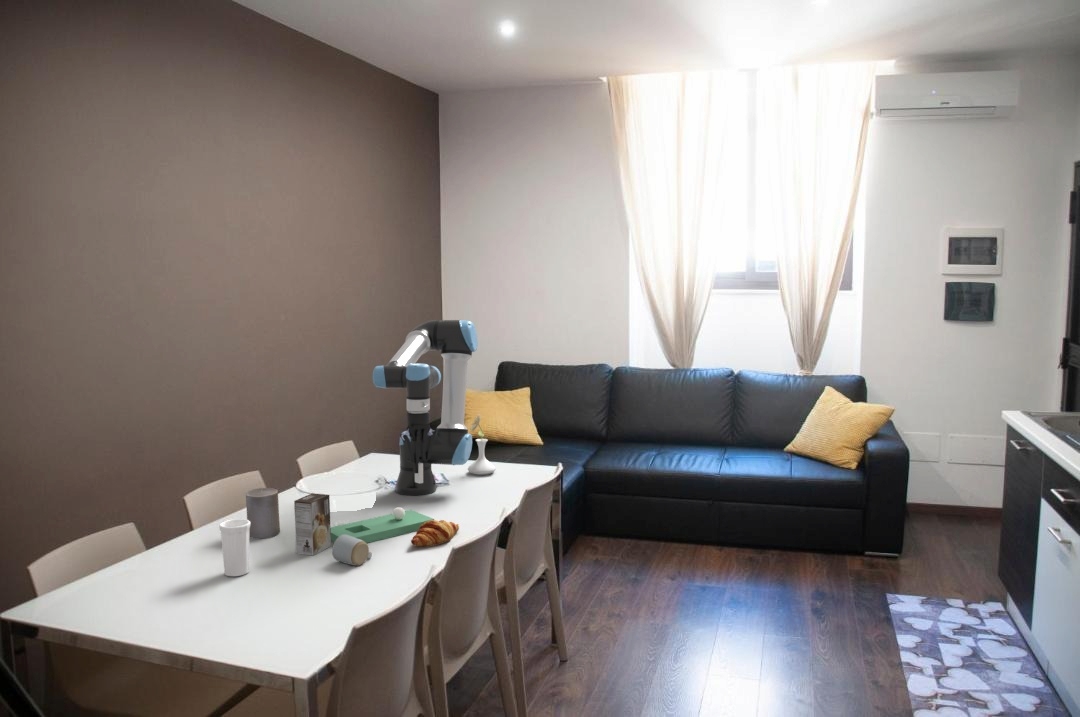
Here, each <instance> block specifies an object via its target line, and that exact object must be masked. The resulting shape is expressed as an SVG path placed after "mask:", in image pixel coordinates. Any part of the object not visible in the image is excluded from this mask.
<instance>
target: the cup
mask: <svg viewBox="0 0 1080 717" xmlns="http://www.w3.org/2000/svg"><path fill="white" fill-rule="evenodd" d="M250 523H251V522H250V521H249V520H247V518H246V519H245V518H233V519H228V520H225V521H224V520H223V522H220V524H219V526H218V527H219V531H220V537H221V547H222V559H223V569H224V575H225V576H228V577H240V576H244V575H246V574H248V573H249V572H250V537H249V528H250Z"/></svg>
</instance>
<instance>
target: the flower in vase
mask: <svg viewBox="0 0 1080 717" xmlns="http://www.w3.org/2000/svg"><path fill="white" fill-rule="evenodd" d="M481 419H482V414H480V413H478V414H477V415H476V417H474V420H473V422H472V423H471V427H470V428H469V430H470V433H471V432H474V431H475V430H476V429H477V428H478V427H479V428H480V430H479V431H478V432H477V435H478V436H479V437H480V438H477V439H475V440H474V441H475V442H476V444H477V446H478V457H477V459H475V461H473V462H472V463H471V464H470V465H469V466H468V468H467V471H468V472H469V473H471V474H473V475H482V476H483V475H490V474H492V473H494V472H495V471H496V467H495V465H494V464H493V463H492V462H490V461H489V460H488V459H487V458H486V456H485V448H486V445H487V442H488V441H489V439H487V438H484V436H485V434H484V433H483V430H482V429H483V428H482V427H481V425H480V422H481Z"/></svg>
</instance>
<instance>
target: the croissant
mask: <svg viewBox="0 0 1080 717" xmlns="http://www.w3.org/2000/svg"><path fill="white" fill-rule="evenodd" d="M459 529H460V525H459V524H458V523H454V522H452V521H446V520H441V519H440V520H436V519H434V520H431V521H427V522H425V523H424V524H422V525H421V526H420V528H419V530H418V531H416V533H415V534H414V535H413V537H412V539H411V540H410V542H411V543H410V544H412V545H413V546H415V547H425V548H428V547H429V548H430V547H432V546H438V545H441V544H443V543H446V542H447V543H448V542H449V541H450V540H451V539H452V538H453V537H454V536H455V535H456V534H457V533H458V532H459Z"/></svg>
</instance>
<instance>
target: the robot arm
mask: <svg viewBox="0 0 1080 717" xmlns="http://www.w3.org/2000/svg"><path fill="white" fill-rule="evenodd" d="M477 334H478V333H477V330H476V327H475V324H474V322H472V321H470V320H463V319H459V320H458V319H451V320H450V319H449V320H448V319H443V320H442V319H432V320H428V321H425V322H423V323H421V324H418V325H417V326H416V327H414V328H413V329H411V330H410V331H409V333H407V335H406V337H405V339H404V340H405V341H404V343H403V344H402V346H400V348H399V349H398V350H397V352H396V353H395V354H394V355H393V356H392V358H391V359H390V360H389V362H388V363H387V364H386V365H383V364H382V365H376V366H375V367H374V368H373V371H372V383H373V385H374V386H375V388H380V389H381V388H382V389H385V390H386V389H402V390H403V389H404V390H406V411H407V412H406V424H407V425H406V426H407V427H406V430H405V431H403V432H401V434H400V435H399V444H398V445H399V469H400V470H399V473H398V477H397V481H396V484H395V492H396V493H397V494H400V495H404V496H424V495H429V494H432V493H435V492H436V491H437V482H436V479H435V476H434V473H433V470H432V469H433V468H432V465H448V466H463V465H465V464H466V463H467V462H468V461H469V459H470V456H471V452H472V448H473V436H472V434H471V433H468V432H469V428H467V426H466V425H465V414H466V412H465V411H466V394H467V393H466V392H467V374H468V360H470V359H471V358H472V355H473V353H474V352H476V351H477V349H478V335H477ZM430 351H431V352H433V351H439V352H440V356H441V357H442V358H443V360H444V366H443V384H442V402H441V403H442V404H441V416H440V418H441V419H440V420H441V421H440V424H439V425H438V426H437V427H436V430H433V429H432V428H431V426H430V422H431V412H430V410H431V402H430V401H431V397H430V394H431V389H434V388H436V387H437V386H438V385H439V384H440V382H441V380H442V374H441V372H440V369H438V368H437V366H434V365H429V364H427V363H422V362H421V363H418V360H419V359H420V358H421V356H422V355H424V354H426V353H427V352H430Z"/></svg>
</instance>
